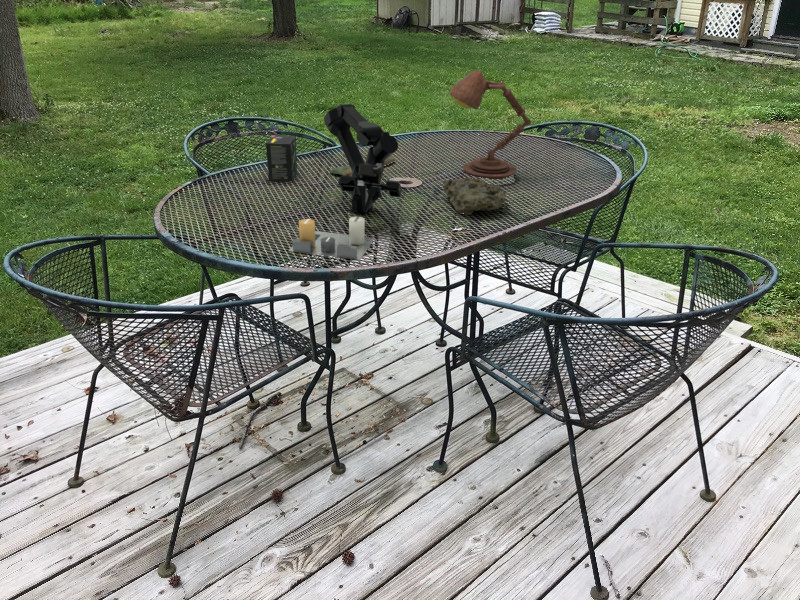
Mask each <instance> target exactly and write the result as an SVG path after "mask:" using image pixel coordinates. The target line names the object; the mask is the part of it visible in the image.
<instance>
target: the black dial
mask: <svg viewBox="0 0 800 600" xmlns="http://www.w3.org/2000/svg"><path fill="white" fill-rule="evenodd" d="M321 251H323V252H333V251H335V239H334V238H332V237H324V238H322V239H321Z"/></svg>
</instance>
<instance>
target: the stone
mask: <svg viewBox="0 0 800 600" xmlns="http://www.w3.org/2000/svg"><path fill="white" fill-rule="evenodd" d="M442 182H443V191H444V193H446V195H447V197H449V202H450V204H451V205H452V206H453V207H454V209H455V211H456V212H457V213H459V214H460V213H464V214H465V215H466V214H469V215H471V214H473V213H474V212H475V211H477V212H479V211H482V212H483V211H484V210H486V211H485V212H488V211H487V210H490V211H494V210H498V209H499V208H501V207H502V205H503V204H504V202H506V201H507V200H506V192H505V191H504V190H503V188H502V187H501V186H498V185H491V184H490V185H489V184H487V183H485V182H482V181H480V180H479V179H472V178H464V179H463V178H456V179H452V180H450V179H444V180H443V181H442ZM470 213H471V214H470Z"/></svg>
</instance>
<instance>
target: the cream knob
mask: <svg viewBox="0 0 800 600" xmlns="http://www.w3.org/2000/svg"><path fill="white" fill-rule="evenodd" d="M348 224H349V225H348V235H349V242H350V243H351V244H353V245H361V244H363V243H364V237H365V218H364V217H362V216H351V217H349V218H348Z"/></svg>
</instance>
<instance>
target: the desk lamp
mask: <svg viewBox="0 0 800 600" xmlns="http://www.w3.org/2000/svg"><path fill="white" fill-rule="evenodd" d="M486 79H487V78H486V77H485V76H484V75H483V72H482V70H479V69H476V70H473V71H471V72H469V73H468V74H467V75H465V76H464V77H462V79H460V80H458V81H457V82H455V84H454V85H453V86H452V87H451V89H450V91H449V95H450V96H451V97H453V99H454V101H455V103H456V104H457V106H459V107H461V108H463V109H471V108H472V109H474V110H477V109H478V108H479V107H480V106H481V103H482V100H483V95H484V94H485V93H486V91H488V90H502V91H503V92H502V96H503V97H504V98H505V99H506V101H507V102H508V103H509V104H510V106H511V108H512V109H513V111H514V112H515V113H516V116H517V117H521V118H522V119H523V123H522V124H520V123H519V124H517V125H516V126H515V128H513V129H512V130H511V131H509V133H507V134H506V135H505V136H504V137H503V138H501V139H500V141H498V142H496V145H495V147H494V148H493V149H489V150H488V152H487V156H484V157H480V158H475V159H473V160H472V161H468V162H466V163H464V164H463V165H462V169H463V171H465V172H466V173H467V174H469V175H472V176H477V177H481V178H482V177H483V178H489V179H503V178H506V177H509V176H511V175H513V174H515V175H516V173H517V171H518V169H517V167H516V166H514V165H512V164H509V163H508V162H507V161H506V160H502V159H500V158H498V157H495V154H496V152H497V151H498V150H504V148H505V147H506V146H507V145H509V143H511V142H512V141H513V140H514V139H515V138H517V137H518V136H519V135H520V134H521V133H523V132H524V131H525V129H524V128H525V127H526V126H527V127H528V126H530V125H531V124H532V120H531V119H530V118H528V117H527V115H526V109H525V108H523V106H522V105H521V104H520V103H519V101H518V98H517V97H516V96H515V95H514V93H512V92H513V91H512V90H511V88H508V89H507V85H506V84H505V83H504V82H503V81H491V80H486Z"/></svg>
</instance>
